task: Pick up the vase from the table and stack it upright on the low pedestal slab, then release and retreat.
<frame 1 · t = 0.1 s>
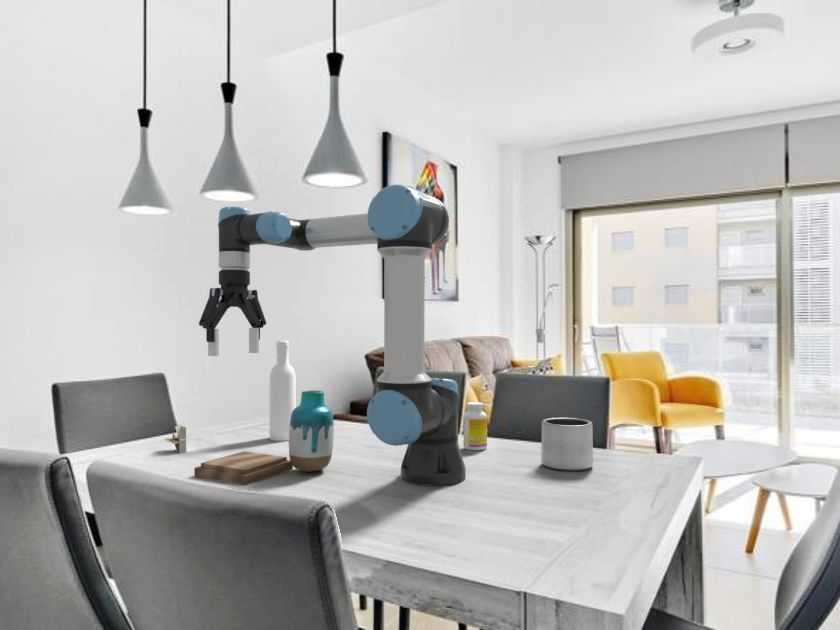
hand: (234, 354, 151), 28 cm above the table, fingers open, 13 cm apart
planter: (566, 466, 150), on the table
supplement bottle: (475, 449, 171), on the table
pedestal: (244, 472, 144), on the table
vase: (310, 471, 145), on the table
architectural model: (179, 453, 167), on the table
bottle: (282, 439, 185), on the table
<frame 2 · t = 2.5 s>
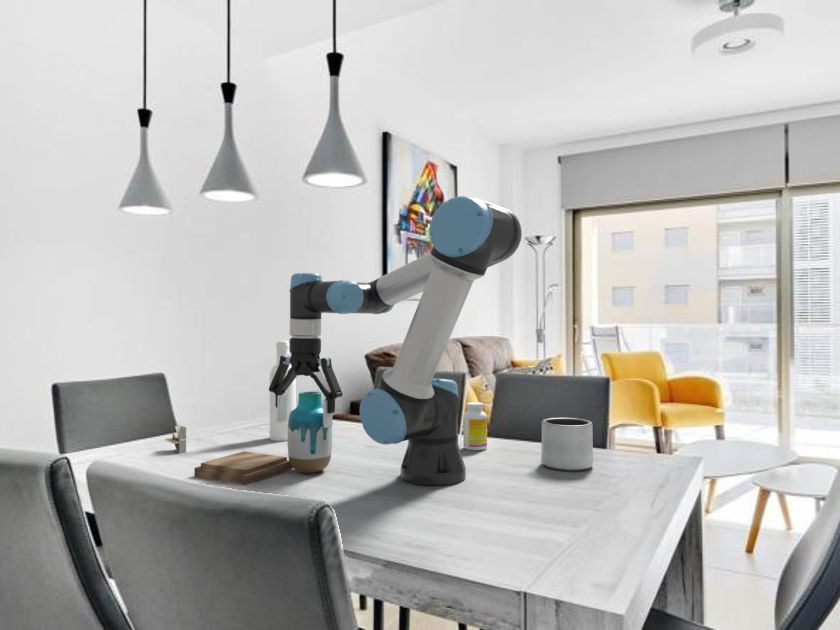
hand: (304, 424, 146), 11 cm above the table, fingers open, 13 cm apart
vase: (310, 472, 145), on the table, touching gripper
everything else where it was.
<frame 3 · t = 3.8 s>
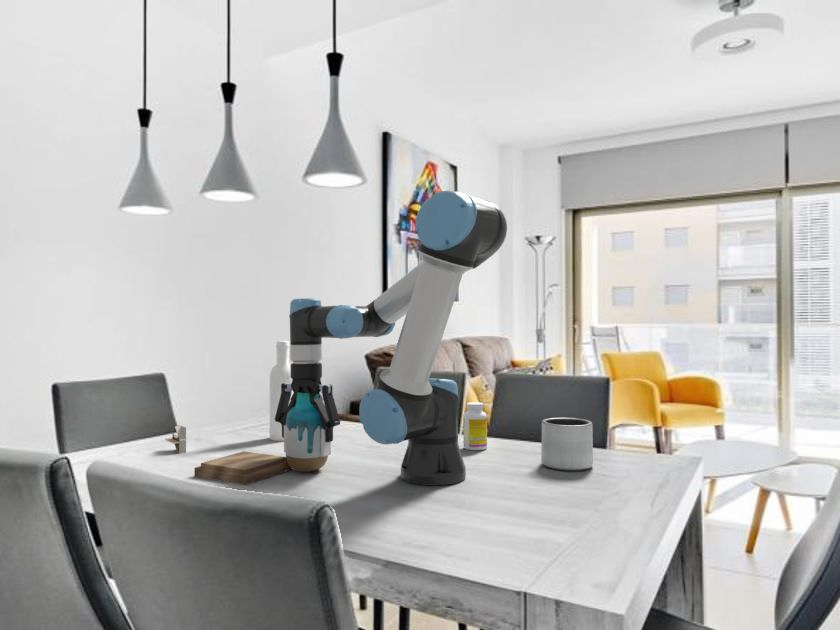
hand: (307, 453, 146), 4 cm above the table, fingers open, 11 cm apart
vase: (307, 471, 146), on the table, touching gripper, pedestal
everything else where it was.
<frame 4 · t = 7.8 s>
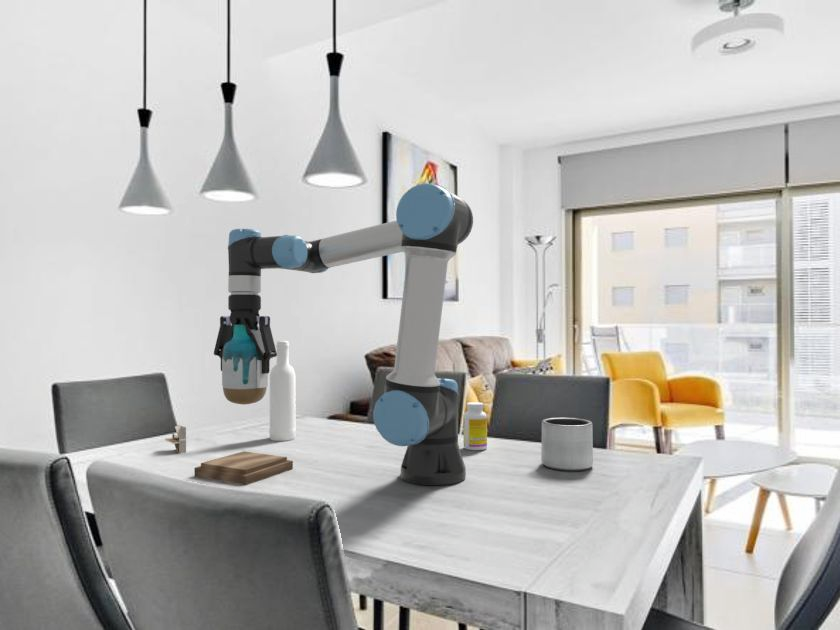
hand: (244, 386, 144), 21 cm above the table, fingers closed on vase, 10 cm apart
vase: (244, 404, 145), point 16 cm above the table, touching gripper
everything else where it was.
when the fingers open (9 cm above the table, at t = 10.8 s): vase drops 1 cm, resting on pedestal.
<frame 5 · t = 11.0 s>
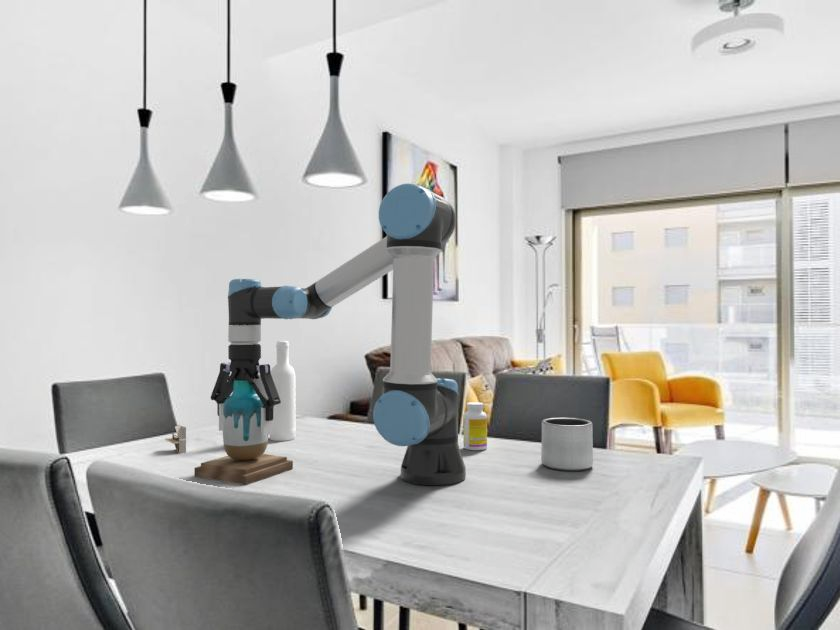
hand: (244, 432, 144), 10 cm above the table, fingers open, 13 cm apart
vase: (246, 460, 144), point 3 cm above the table, touching pedestal
everything else where it was.
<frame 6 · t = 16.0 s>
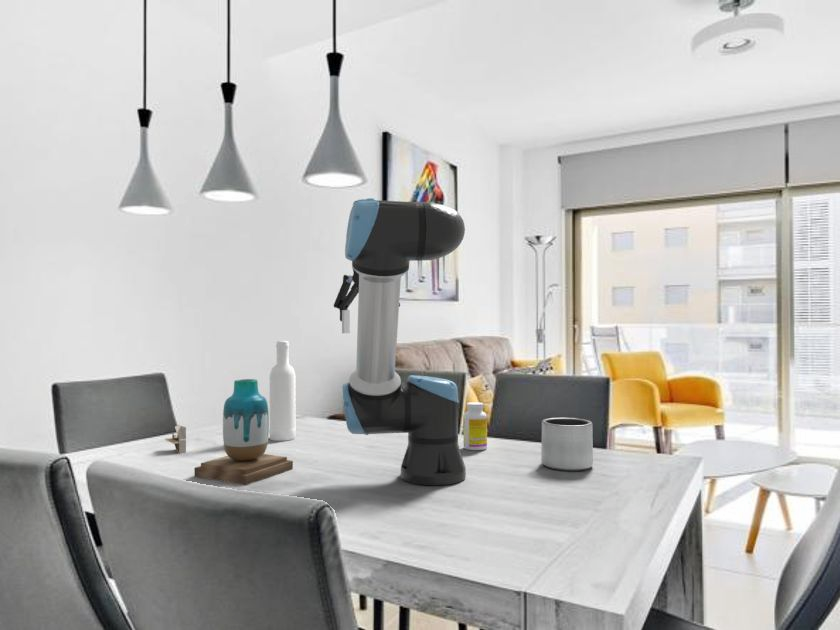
hand: (366, 333, 166), 33 cm above the table, fingers open, 13 cm apart
nothing on the table moved.
at the end: vase inside the target area on the pedestal (0.3 cm from its centre), point 2.8 cm above the pedestal's base; vase tilted 0°; the gripper is holding nothing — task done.
